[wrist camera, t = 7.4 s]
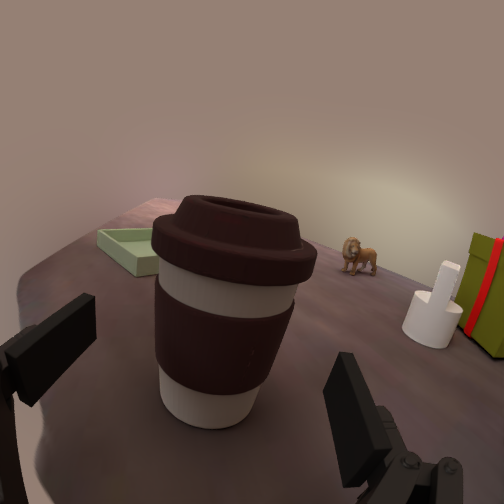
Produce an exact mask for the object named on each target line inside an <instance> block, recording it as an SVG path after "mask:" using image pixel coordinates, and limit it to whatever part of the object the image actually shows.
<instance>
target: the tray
mask: <svg viewBox="0 0 504 504" xmlns="http://www.w3.org/2000/svg"><path fill="white" fill-rule="evenodd" d="M152 229H153V228H136V229H105V230H98V233H97V246H98V247H99V248H100V249H101V250H103V251H104V252H105V253H106V254H108V255H109V256H110V257H111V258H112V259H114V260H115V261H116V262H117V263H119V264H120V265H121V266H122V267H124V268H125V269H126V270H128V271H129V272H130V273H131V274H133V275H134V276H135V277H140V276H147V275H154V274H158V273H159V260H160V257H159V256H158V255H157V254H156V253H155V252H154V251H153V250H152V247H151V237H152Z"/></svg>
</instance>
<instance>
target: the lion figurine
mask: <svg viewBox="0 0 504 504" xmlns="http://www.w3.org/2000/svg"><path fill="white" fill-rule="evenodd" d="M342 254H343V258H344V260H345V265H344V268H342V271H344V272H346V270H347V268H348V264H349V262H350V263H351V262H353V267H352V270H351V272H350V275H353V276H354V275H355V270H356V267H357V265H358V263H362V262H363V265H362V267H361V268H360V269H357V271H360V272H361V271H362V270H363V269H364V268H365V267H366V264H367V262H368V261H370V263H371V266H372V269H371V271H373V270H374V271H373V272H372V273H371V275H373V276H375V274H376V270H377V267H376V256H377V254H376V252H375V250H373V249H371V248H367V249H361V247H360V242H359V240H357V239H356V238H355V237H350V238H348V239H347V240H346V241H345V242H344V245H343V253H342Z"/></svg>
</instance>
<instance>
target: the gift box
mask: <svg viewBox="0 0 504 504" xmlns="http://www.w3.org/2000/svg"><path fill="white" fill-rule="evenodd" d="M469 253H470V255H469V259H468V262H467V266H466V269H465V272H464V275H463V278H462V281H461V285H460V287H459V290H458V293H457V295H456V298H455V301H454V303H456V304H457V305H459V306H460V307H461V308H462V310H463V312H462V314H461V317H460V319H459V322H458V325H459V326H460V327H461V328H463V329H464V333H465V334H466V335H467V336H468V337H470V338H471V339H475V340H476V341H477V342H478V343H479V344H480V345H481V346H482V347H483V348H484V349H485V350H486V351H487V352H488V353H490V354H491V355H492V356H493V357H497V358H504V237H503V238H502V239H499V238H496V239H493V238H490V237H487V236H484V235H481V234H478V233H474V234H473V238H472V242H471V245H470V249H469Z"/></svg>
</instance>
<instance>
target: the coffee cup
mask: <svg viewBox="0 0 504 504" xmlns="http://www.w3.org/2000/svg"><path fill="white" fill-rule="evenodd" d="M151 247H152V250H153V251H154V252H155V253H156V254H157V255H158V256H159V257H160V260H159V273H158V274H157V276H156V280H155V352H156V358H157V361H158V364H159V378H160V393H161V397H162V400H163V403H164V405H165V406H166V408H167V409H168V410H169V411H170V412H171V413H172V414H173V415H174V416H175V417H176V418H178V419H180V420H181V421H183V422H185V423H187V424H190V425H192V426H196V427H200V428H207V429H219V428H225V427H229V426H232V425H235V424H237V423H238V422H240V421H241V420H243V419H244V418H245V417H246V416H247V415H248V414H249V412H250V410H251V408H252V406H253V404H254V401H255V399H256V396H257V394H258V391H259V389H260V386H261V384H262V383H263V382H264V381H265V379H266V378H267V376H268V375H269V372H270V370H271V367H272V365H273V362H274V360H275V357H276V354H277V352H278V349H279V347H280V344H281V342H282V339H283V336H284V334H285V331H286V328H287V326H288V323H289V320H290V318H291V315H292V312H293V309H294V304H295V302H294V296H295V293H296V290H297V287H298V284H299V283H302V282H305V281H306V280H308V279H309V278H310V277H311V275H312V273H313V269H314V265H315V262H316V258H317V250H316V249H315V248H314V246H312V245H311V244H310V243H308V242H306V241H305V240H303V239H301V238H300V231H299V225H298V220H297V219H296V217H295V216H293V215H291V214H289V213H286V212H283V211H280V210H277V209H273V208H270V207H266V206H262V205H258V204H254V203H249V202H245V201H239V200H233V199H228V198H222V197H214V196H204V195H190V196H186V197H185V198H184V199H183V201H182V202H181V204H180V206H179V207H178V209H177V211H176V213H175V214H169V215H163V216H159V217H158V218H156V219H155V220H154V222H153V229H152V237H151Z"/></svg>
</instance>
